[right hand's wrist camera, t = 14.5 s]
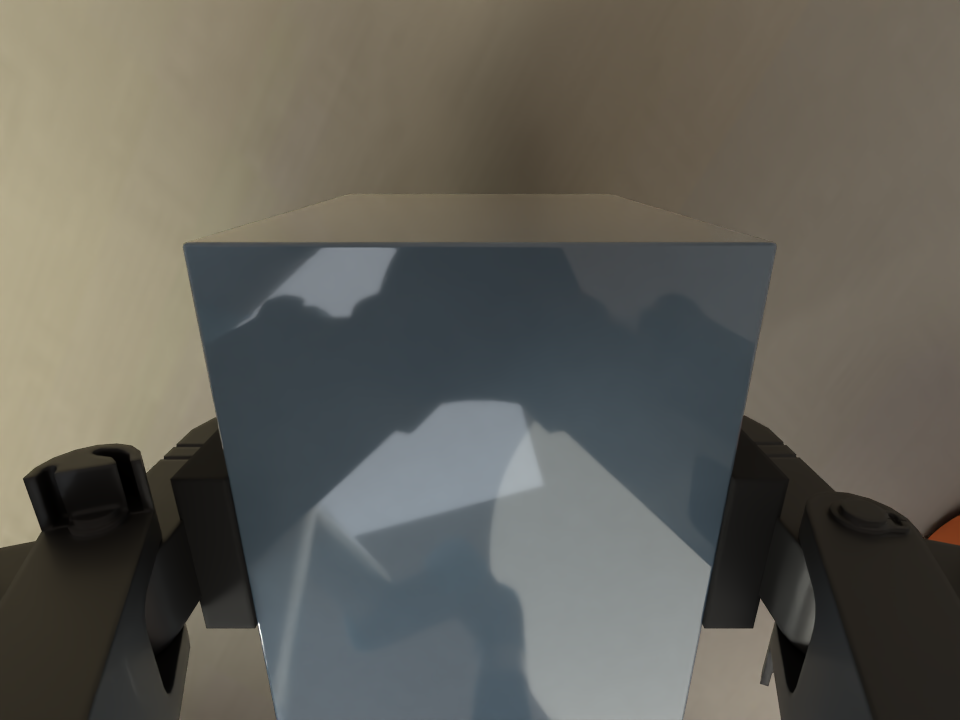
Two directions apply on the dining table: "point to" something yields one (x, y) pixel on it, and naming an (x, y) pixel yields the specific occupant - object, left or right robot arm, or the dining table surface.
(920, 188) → the dining table surface
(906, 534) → the right robot arm
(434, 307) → the blue gray block
